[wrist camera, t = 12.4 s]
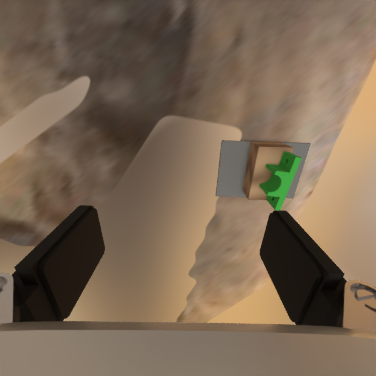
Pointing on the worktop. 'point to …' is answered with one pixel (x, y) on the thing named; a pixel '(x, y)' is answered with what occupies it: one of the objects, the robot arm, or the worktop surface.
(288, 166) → the green notched block
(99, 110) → the worktop surface
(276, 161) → the base brick
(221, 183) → the mat
